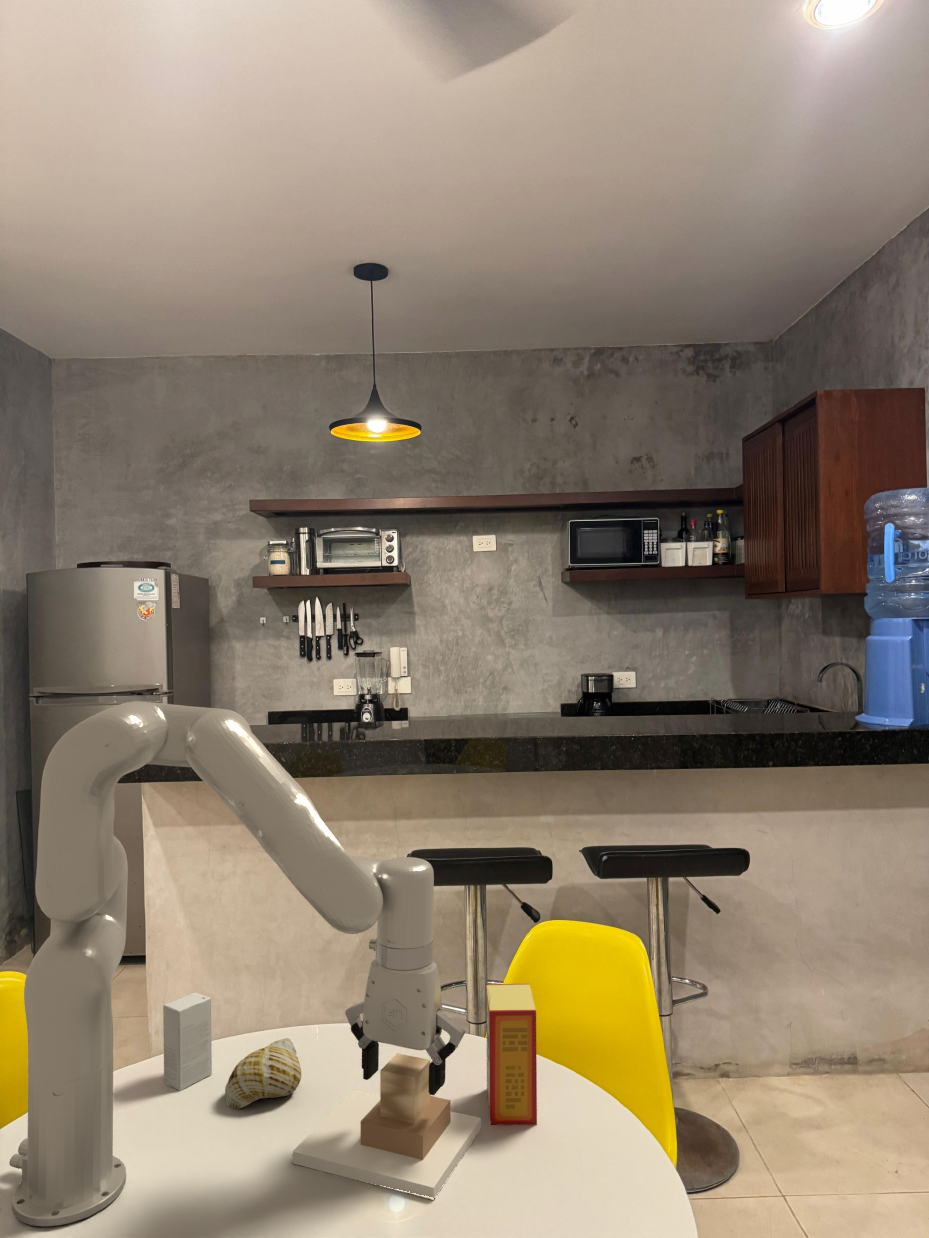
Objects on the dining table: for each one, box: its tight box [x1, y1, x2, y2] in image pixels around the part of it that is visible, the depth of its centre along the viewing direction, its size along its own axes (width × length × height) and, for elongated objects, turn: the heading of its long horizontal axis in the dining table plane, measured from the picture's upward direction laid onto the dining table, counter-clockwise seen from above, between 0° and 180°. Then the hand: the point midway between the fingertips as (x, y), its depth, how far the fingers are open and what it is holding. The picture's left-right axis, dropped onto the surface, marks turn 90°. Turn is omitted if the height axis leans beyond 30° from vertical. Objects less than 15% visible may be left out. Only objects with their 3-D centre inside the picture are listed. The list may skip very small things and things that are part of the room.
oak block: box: [379, 1053, 431, 1124], centre depth 113 cm, size 5×5×6 cm
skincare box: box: [162, 991, 213, 1092], centre depth 130 cm, size 6×4×12 cm
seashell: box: [224, 1037, 302, 1110], centre depth 125 cm, size 10×10×10 cm
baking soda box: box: [485, 983, 538, 1126], centre depth 122 cm, size 10×6×16 cm
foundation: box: [291, 1089, 482, 1198], centre depth 112 cm, size 20×16×4 cm
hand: (402, 1082), depth 113 cm, fingers open, 9 cm apart
